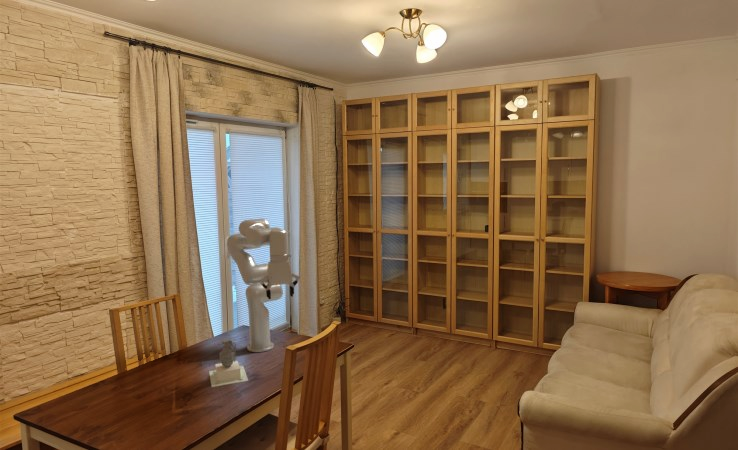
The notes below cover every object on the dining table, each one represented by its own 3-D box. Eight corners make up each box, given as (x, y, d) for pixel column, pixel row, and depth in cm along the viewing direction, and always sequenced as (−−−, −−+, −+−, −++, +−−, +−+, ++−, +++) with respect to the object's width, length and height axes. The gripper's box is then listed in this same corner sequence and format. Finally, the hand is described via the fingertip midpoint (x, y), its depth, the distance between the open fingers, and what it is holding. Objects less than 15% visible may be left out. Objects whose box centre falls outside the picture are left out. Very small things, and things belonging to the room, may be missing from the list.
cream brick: (215, 373, 198) (215, 364, 197) (238, 369, 201) (237, 360, 201) (217, 382, 189) (217, 372, 189) (240, 378, 193) (240, 368, 192)
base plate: (209, 374, 200) (208, 370, 200) (243, 368, 205) (243, 364, 205) (211, 390, 185) (211, 386, 185) (248, 384, 191) (248, 379, 190)
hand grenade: (221, 370, 191) (219, 344, 190) (218, 365, 196) (217, 339, 195) (237, 367, 194) (236, 341, 193) (234, 362, 199) (233, 336, 198)
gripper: (296, 255, 211) (297, 292, 213) (257, 258, 205) (258, 297, 207) (300, 258, 204) (302, 297, 206) (260, 261, 198) (261, 301, 200)
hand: (280, 297), depth 206 cm, fingers open, 9 cm apart
